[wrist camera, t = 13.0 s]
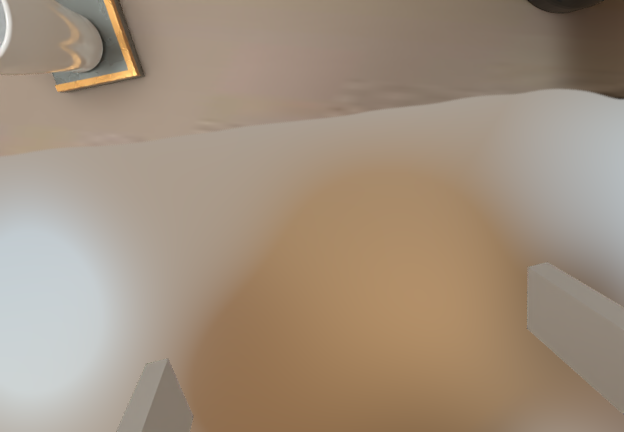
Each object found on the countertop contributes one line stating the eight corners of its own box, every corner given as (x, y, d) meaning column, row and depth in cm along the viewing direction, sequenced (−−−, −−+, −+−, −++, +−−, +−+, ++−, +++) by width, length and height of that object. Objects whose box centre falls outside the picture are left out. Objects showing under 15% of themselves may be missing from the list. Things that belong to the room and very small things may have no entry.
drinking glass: (86, 95, 36) (-29, 97, 22) (21, 42, 34) (-152, 6, 20) (128, 44, 35) (36, 11, 21) (64, -14, 33) (-86, -95, 19)
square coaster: (115, -11, 35) (104, -18, 32) (144, 76, 37) (136, 75, 35) (31, 6, 34) (14, -1, 32) (68, 92, 37) (54, 92, 35)
